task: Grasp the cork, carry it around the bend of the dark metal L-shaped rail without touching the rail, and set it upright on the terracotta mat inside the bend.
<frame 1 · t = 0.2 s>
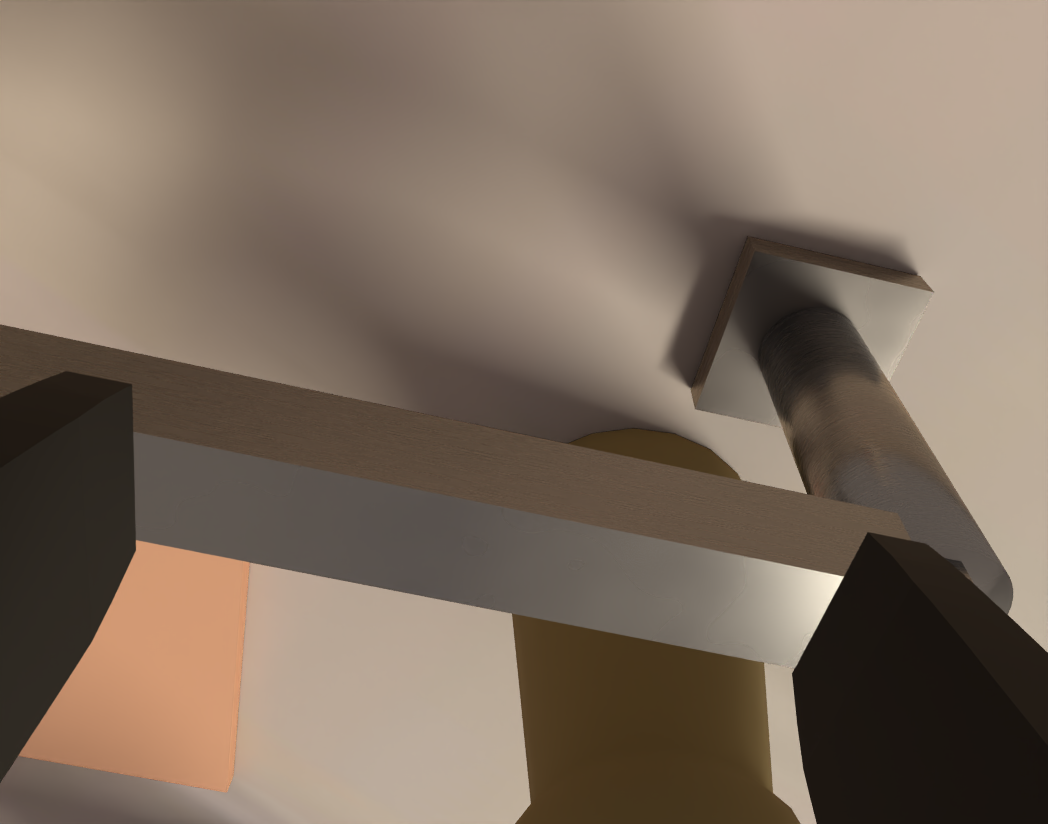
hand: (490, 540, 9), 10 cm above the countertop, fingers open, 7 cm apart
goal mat: (57, 628, 24), on the countertop
bent rail: (211, 515, 22), on the countertop
cork: (628, 528, 22), on the countertop
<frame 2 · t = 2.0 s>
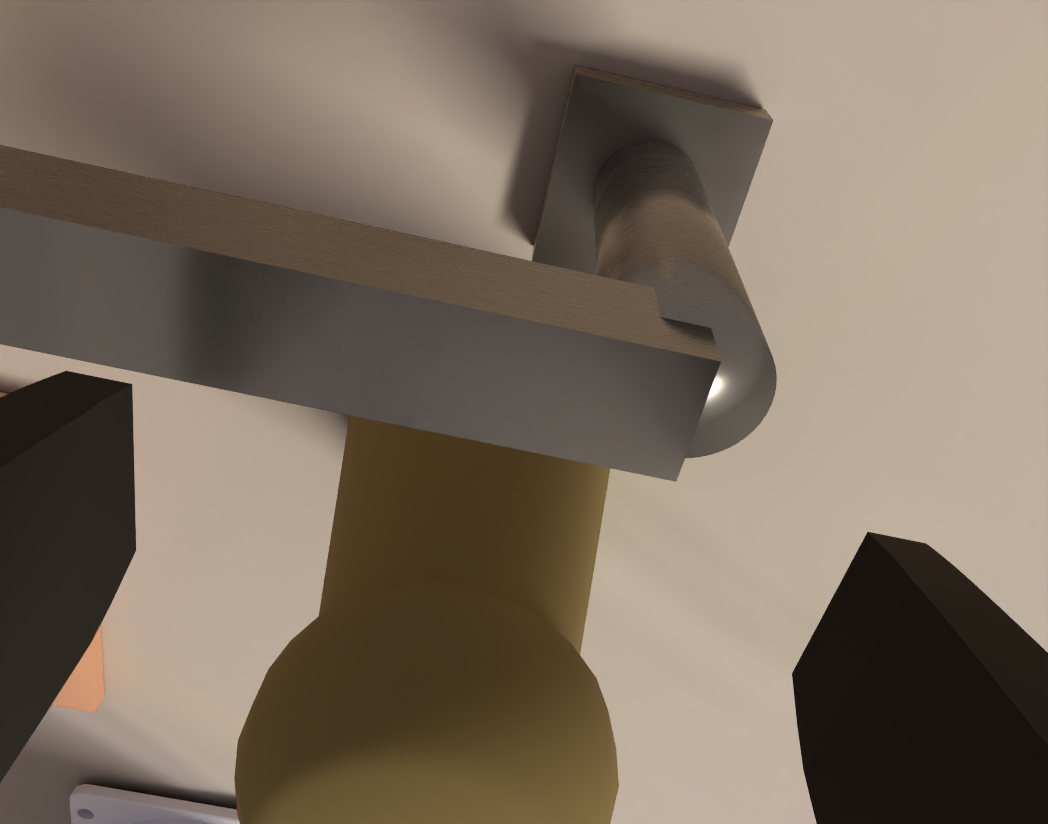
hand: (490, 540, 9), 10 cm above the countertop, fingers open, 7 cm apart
bent rail: (44, 401, 21), on the countertop
cork: (485, 411, 20), on the countertop
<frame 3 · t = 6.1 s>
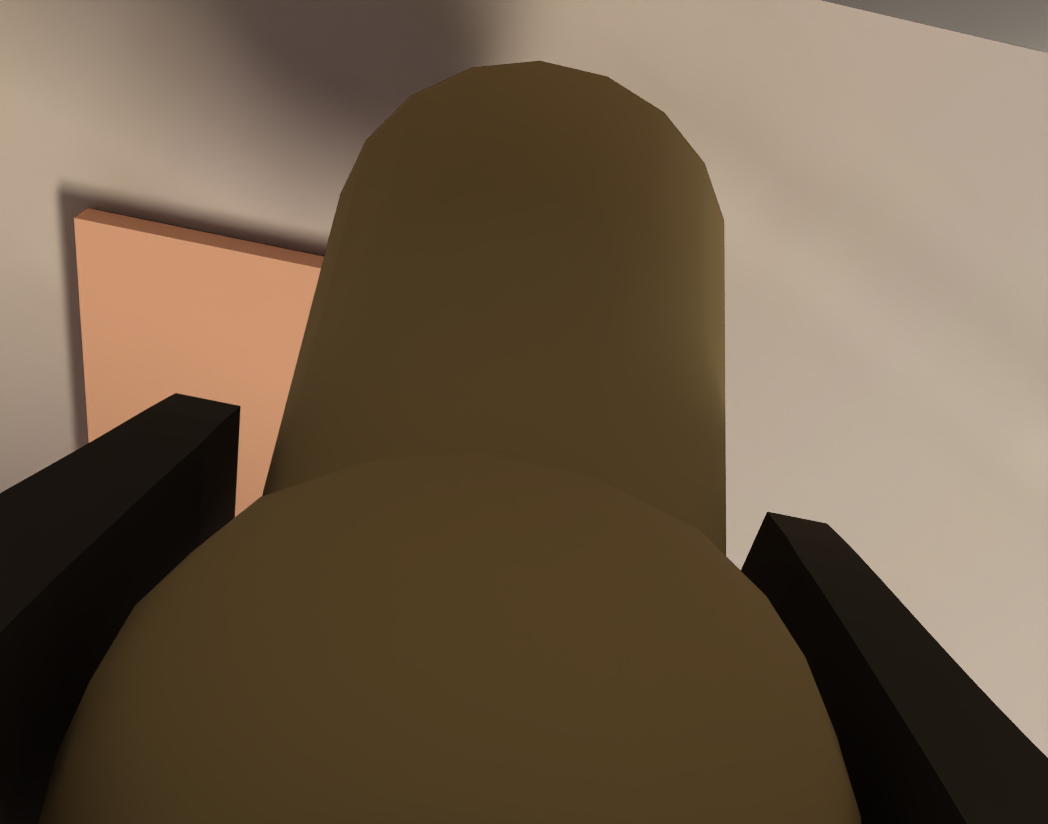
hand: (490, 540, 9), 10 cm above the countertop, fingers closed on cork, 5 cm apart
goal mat: (313, 453, 21), on the countertop
bent rail: (520, 297, 19), on the countertop
cork: (528, 260, 14), point 4 cm above the countertop, touching gripper
when the fingers open (5 cm above the countertop, at t = 9.2 s): cork stays where it is, resting on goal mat.
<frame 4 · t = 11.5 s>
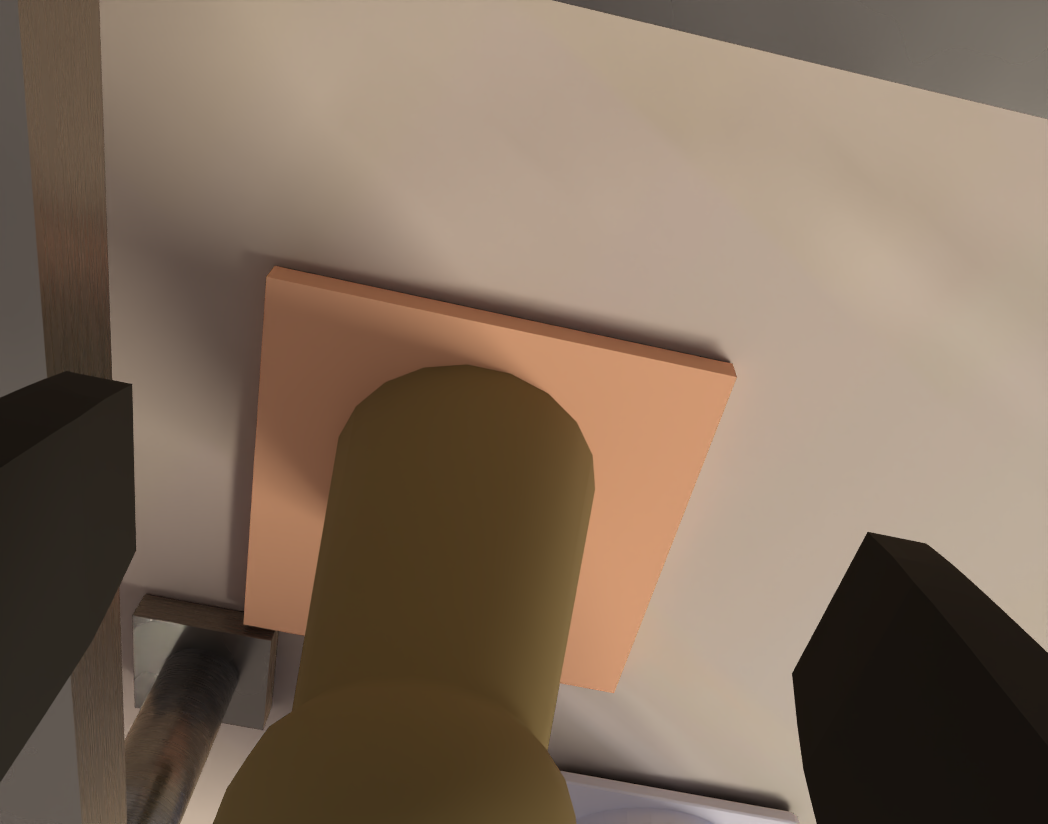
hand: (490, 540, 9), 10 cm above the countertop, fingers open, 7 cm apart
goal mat: (466, 498, 22), on the countertop
bent rail: (688, 354, 19), on the countertop
cork: (465, 474, 21), resting on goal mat
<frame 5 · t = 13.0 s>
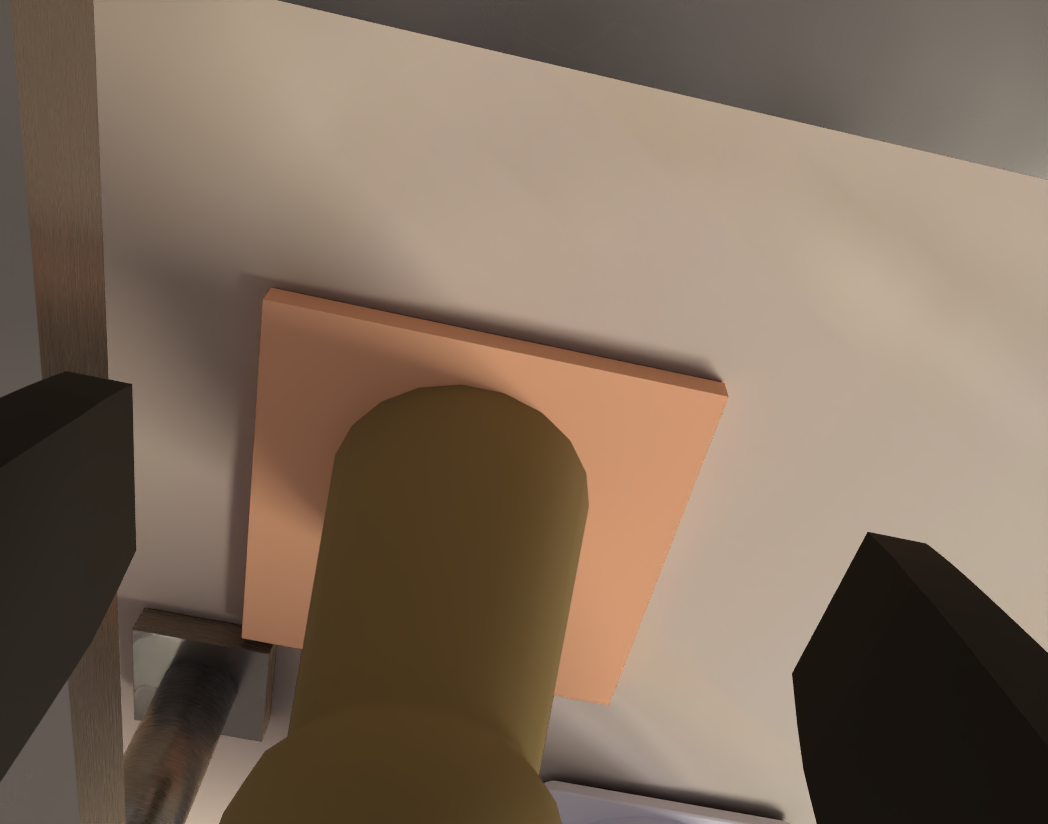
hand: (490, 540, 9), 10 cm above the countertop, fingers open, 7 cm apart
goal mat: (462, 514, 22), on the countertop
bent rail: (680, 373, 20), on the countertop
cork: (460, 491, 21), resting on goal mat
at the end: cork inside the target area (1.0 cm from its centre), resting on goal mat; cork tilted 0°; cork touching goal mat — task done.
